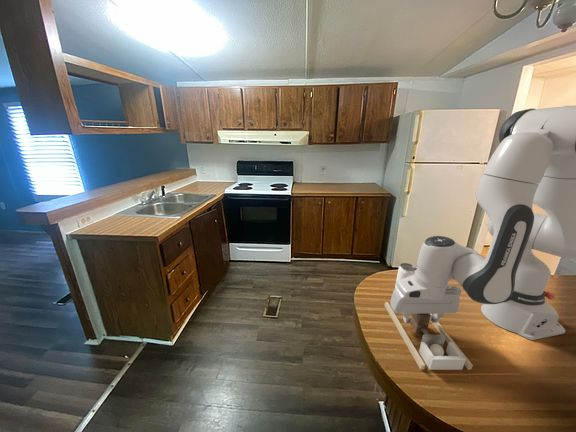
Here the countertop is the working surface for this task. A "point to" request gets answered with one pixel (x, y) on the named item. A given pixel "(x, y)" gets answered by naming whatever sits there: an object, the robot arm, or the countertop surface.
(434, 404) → the countertop surface
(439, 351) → the ball
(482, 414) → the countertop surface
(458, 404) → the countertop surface
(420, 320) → the block
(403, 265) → the can
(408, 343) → the pitch
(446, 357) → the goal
